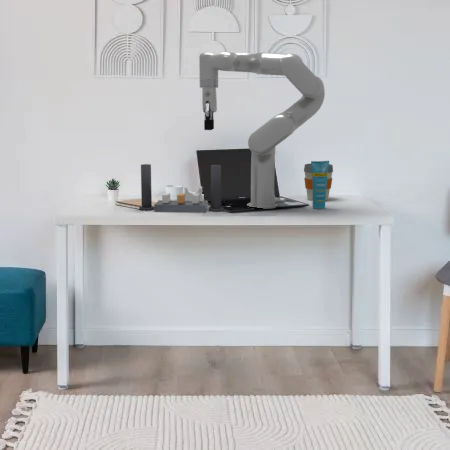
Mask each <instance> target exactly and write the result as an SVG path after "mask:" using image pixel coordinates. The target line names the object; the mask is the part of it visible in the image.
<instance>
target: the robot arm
mask: <svg viewBox="0 0 450 450" xmlns="http://www.w3.org/2000/svg"><path fill="white" fill-rule="evenodd" d="M198 57H199V60H198V61H199V62H198V63H199V64H198V65H199V66H198V67H199V88H201V89H202V95H201V96H202V97H201V98H202V99H201V100H202V101H201V102H202V112H203V113H204V119H203V120H204V121H203V123H204V125H203V126H204V128H203V129H204V131H213V130H214V129H215V120H214V113H216V112H218V107H217V106H218V103H217V101H218V100H217V89H218V88H219V71H220V72H221V71H222V72H239V73H253V74H257V75H267V76H284V77H286V79H287V80H288V81H289V82H290V83H291V84H292V85H293V86H294V87H295V88H296V89H297V90H298V91H299V93H300V94H301V95H302V96H301V97H300V98H299V99H298V100H297V101H296V102H294V103H293V104H291V106H289V107H288V108H287V109H285V110H283V111H282V112H280V113H278V114H276V115H274V116H273V117H271V119H269V120H267V121H266V122H265V123H264V124H262V126H259V128H257V129H256V130H255V131H253V132H252V133H251V134H250V136H249V137H248V140H247V147H248V149H249V150H250V152H251V159H250V161H251V163H250V202H248V203H247V204H246V206H249V207H257V208H263V209H262V210H269V209H270V210H272V209H275V208H276V207H277V206H279V204H280V203H281V204H286V198H283V197H277V196H276V194H275V173H276V172H275V167H276V165H275V164H276V147H277V146H278V145H279V144H280V143H283V141H285V140H286V139H287V138H288V137H290V136H291V135H292V134H293V133H294V132H295V131H296V130H297V129H299V127H301V126H302V125H304V124H305V123H306V122H307V121H308V120H310V119H311V118H312V117H314V116H315V115H316V114H317V112H318V111H319V110H320V109H321V107H322V106H323V104H324V100H325V95H326V93H325V91H326V90H325V86H324V85H325V84H324V83H323V80H322V79H321V78H320V77H319V76H318V75H316V74H315V73H313V71H311V70H310V68H309V67H308V66H307V65H306V64H305V63H304V62H303V59H302V57H300V55H298V54H295V53H279V52H264V51H263V52H256V53H241V52H230V51H221V52H202V53H200V54H199V56H198ZM249 207H248V208H249ZM277 208H278V207H277ZM277 208H276V209H277Z"/></svg>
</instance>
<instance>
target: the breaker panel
mask: <svg viewBox="0 0 450 450" xmlns="http://www.w3.org/2000/svg"><path fill="white" fill-rule="evenodd" d="M153 206H154V210H153V211H154V212H156V213H158V212H160V213H205V212H206V211H207V210H208V209H209V206H208V200H203V201H200V202H199V203H198V204H196V203H192V201H191V200H185V202H184V203H177V199H175V200H174V199H170V202H169V203H162V199H158V200H157V202H156V203H154V205H153Z"/></svg>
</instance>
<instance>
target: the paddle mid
mask: <svg viewBox="0 0 450 450" xmlns="http://www.w3.org/2000/svg"><path fill="white" fill-rule="evenodd" d="M176 200H177V203H184V202H185V192H183V193H178V194H177V195H176Z"/></svg>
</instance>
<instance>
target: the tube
mask: <svg viewBox="0 0 450 450" xmlns="http://www.w3.org/2000/svg"><path fill="white" fill-rule="evenodd" d="M310 164H311V166H312V184H313V201H312V208H313V209H315V210H316V209H317V210H324V209H325V208H326V201H327V200H326V187H327V176H328V168H329V164H330V160H319V161H317V160H313V161H312V160H311V162H310ZM325 200H326V201H325Z"/></svg>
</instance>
